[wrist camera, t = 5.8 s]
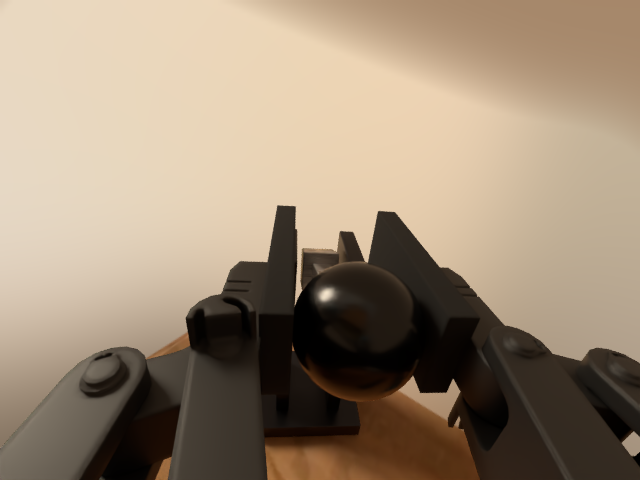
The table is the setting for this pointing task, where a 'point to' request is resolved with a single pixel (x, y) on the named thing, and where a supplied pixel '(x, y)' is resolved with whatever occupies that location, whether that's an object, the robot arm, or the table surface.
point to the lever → (356, 327)
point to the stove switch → (312, 387)
